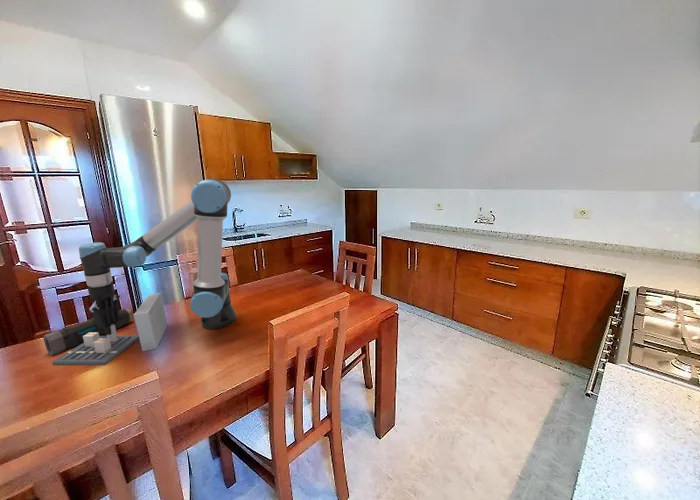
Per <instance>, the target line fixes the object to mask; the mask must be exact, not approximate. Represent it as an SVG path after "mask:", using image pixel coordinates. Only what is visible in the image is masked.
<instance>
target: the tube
mask: <svg viewBox="0 0 700 500" xmlns="http://www.w3.org/2000/svg"><path fill="white" fill-rule="evenodd" d="M134 319H135V318H134V314H133V311H132V309H131V308H127V309H119V320H117V321H118V323H117V324H115V325H116V330H118V329H120V328H122V327H124V326H125V325H127V324H129V323H130V321H132V320H134ZM89 332H98V333H99V336H104V335H106V334H105V330H104V328H98V326H97V324H96V322H95V320H94V318H93V317H91V318H90V319H88V320H86V321H83V322H82V321H81V323H78V324H75V325H72V326H65V327H63V328H62V329H59V330H58V331H57V330H55V331H53V332H49V333H47V334H44V335H43V338H42V339H43V342H44V345H45V349H46V351H47V353H48V354H49V355H50V356H55V355H57V354H60V353H62V352H65V351H66V350H68V349H74V348H76V347H77V346H79V345H80V344H82V343H84V340H83V336H84V335H86V334H88V333H89Z"/></svg>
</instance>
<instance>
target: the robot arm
mask: <svg viewBox="0 0 700 500" xmlns="http://www.w3.org/2000/svg"><path fill="white" fill-rule="evenodd" d="M190 199H191V200H190V201H188V202H187V203H186V204H184V205H183V206H182V207H180V208H179V209H178V210H176V211H175V212H173V213H172V214H171V215H169V216H167V217H166V218H164V219H163V220H162V221H161V222H160V223H158V224H157V225H155V226H154V227H152V228H151V229H150V230H148V231H147V232H146V233H144V234H143V235H141V236H140V237H138V238H137V239H136V240H134V241H132V242H129V243H128V244H126V245H124V246H120V247H119V246H118V247H107V246H106V245H105V243H104V242H89V243H84V244H81V245H79V247H78V251H79V252H78V254H79V259H80V263H81V265H82V270H83V272H84V273H83V274H84V278H85V282H86V285H87V286H88V287H87V291H88V296H89V297H90V298H92V299H91V300H92V301H91V303H92V305H90V307H87V311H88V312H89V313H90V314H91V316H92V318H94V320H95V322H96V324H97V326H98V328H104V330H105V334H104V335H105V336H107V338H109V339H110V341H116V340H118V337H117V336H118V333H117V329H116V325H115V324H117V323H118V321H117V320H119V310H120V298H121V295H119V294H117V295H116V294H115V287H114V282H113V276H112V273H111V272H112V271H111V269H114V268H115V269H116V268H117V269H118V268H135V267H140V266H143V265H144V264H145V262H146V260H147V257H149V256H150V255H152V254H153V253H154V252H155V251H156V250H158V249H159V248H161V247H162V246H163V245H164V244H166V243H168V242H169V241H171V240H172V239H173V238H174V237H176V236H177V235H179V234H180V233H181V232H183V231H184V230H186V229H187V228H188V227H189V226H191V225H192V224H194V223H195V222H197V221H198V223H197V226H198V227H197V228H198V229H197V230H198V231H197V233H198V235H197V239H198V240H197V278H196V279H195V280H194V281H193V285H192V286H193V287H192V288H193V289H192V297H191V298H190V303H189V308H190V310H191V312H192V313H193V314H194V315H196V316H198V317H200V318H201V319H200V324H201V327H202V328H203V329H208V330H209V329H210V330H216V329H222V328H225V327H228V326H230V325H232V324H234V323H235V322H236V321H237V319H238V318H237V317H238V316H237V313H236V311H235V309H234V307H233V304H232V300H231V291H230V283H229V276H228V274H227V273H225V272H222V263H223V262H222V258H223V257H222V255H223V228H224V227H223V226H224V225H223V224H224V220H226V218H228V204H229V203H230V201H231V199H232V193H231V190H230V187H229V186H228V185H227V184H226V183H225V182H224V181H222V180H219V179H204V180H201V181H199V182H197V183H196V184H195V185H194V186H193V187H192V189H191V192H190Z"/></svg>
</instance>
